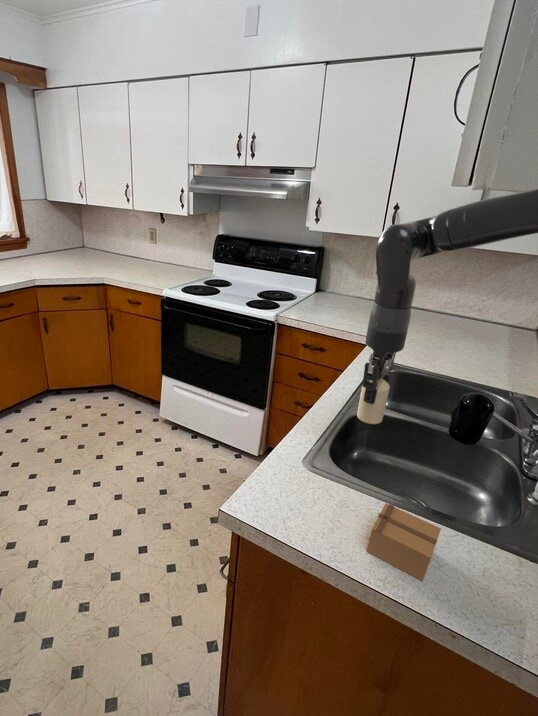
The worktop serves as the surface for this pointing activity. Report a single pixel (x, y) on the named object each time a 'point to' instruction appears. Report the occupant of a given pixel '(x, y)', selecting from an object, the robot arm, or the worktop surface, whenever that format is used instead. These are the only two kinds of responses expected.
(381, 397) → the candle
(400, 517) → the cardboard box
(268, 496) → the worktop surface
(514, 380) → the worktop surface
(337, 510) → the worktop surface
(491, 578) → the worktop surface
